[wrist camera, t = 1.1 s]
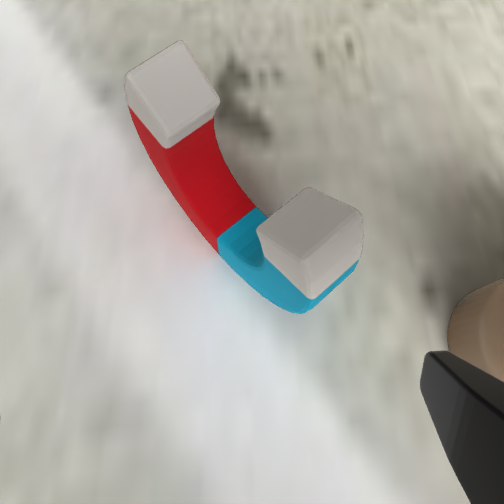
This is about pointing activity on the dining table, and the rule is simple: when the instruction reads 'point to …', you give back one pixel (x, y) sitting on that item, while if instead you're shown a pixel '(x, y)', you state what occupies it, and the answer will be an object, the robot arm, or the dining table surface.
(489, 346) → the cup
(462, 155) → the dining table surface
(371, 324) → the dining table surface
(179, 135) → the magnet
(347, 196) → the dining table surface
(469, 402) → the robot arm
